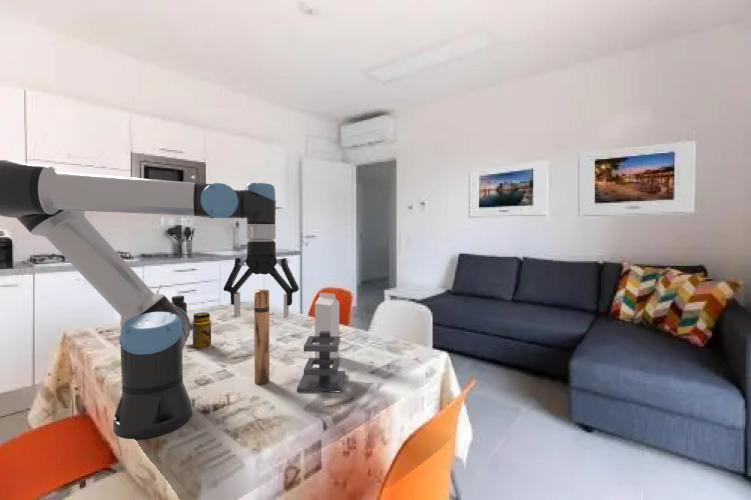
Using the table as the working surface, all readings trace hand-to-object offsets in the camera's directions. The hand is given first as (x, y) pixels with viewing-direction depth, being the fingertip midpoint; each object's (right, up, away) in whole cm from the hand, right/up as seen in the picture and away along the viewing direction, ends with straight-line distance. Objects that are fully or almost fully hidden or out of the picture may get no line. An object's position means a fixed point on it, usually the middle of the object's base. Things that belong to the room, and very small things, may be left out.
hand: (261, 316), depth 103 cm
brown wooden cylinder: (0, -19, +1) cm, 19 cm away
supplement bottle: (-55, -14, +59) cm, 82 cm away
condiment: (-32, -16, +30) cm, 46 cm away
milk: (+15, -18, +20) cm, 31 cm away
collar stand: (+17, -19, +1) cm, 25 cm away
